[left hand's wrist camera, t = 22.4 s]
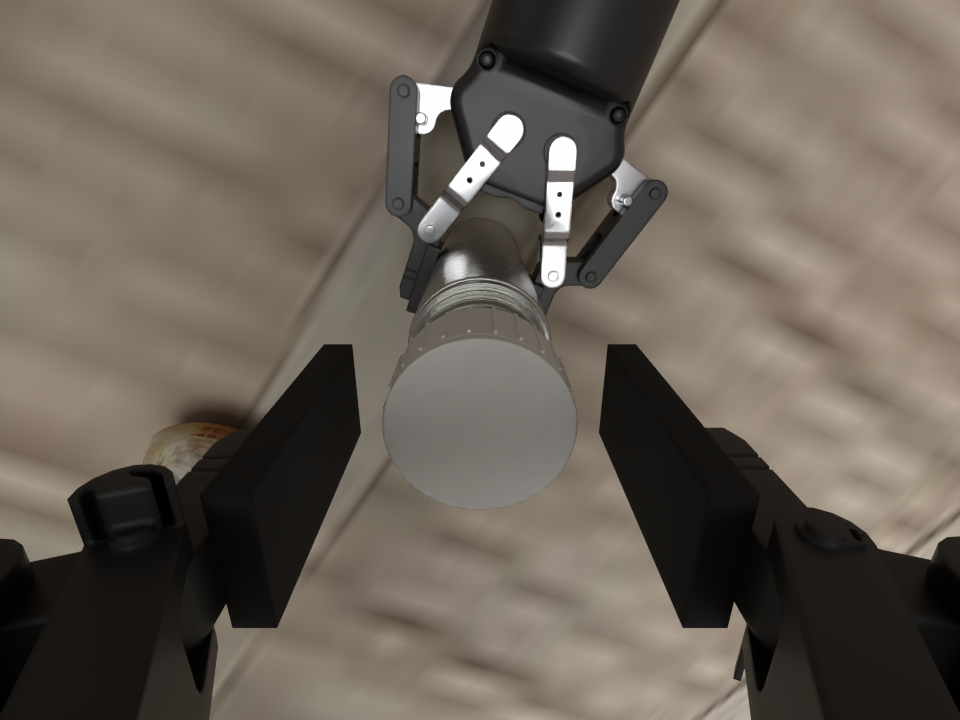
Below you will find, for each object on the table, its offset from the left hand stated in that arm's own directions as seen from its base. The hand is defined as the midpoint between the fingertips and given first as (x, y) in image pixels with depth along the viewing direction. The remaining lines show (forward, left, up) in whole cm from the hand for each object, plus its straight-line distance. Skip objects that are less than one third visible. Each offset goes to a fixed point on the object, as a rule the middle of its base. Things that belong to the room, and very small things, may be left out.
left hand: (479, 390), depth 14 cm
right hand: (0, -3, -13) cm, 14 cm away
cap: (0, 0, +2) cm, 2 cm away
